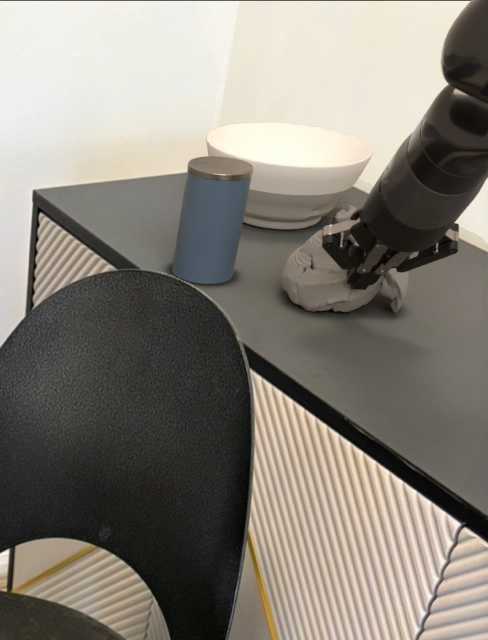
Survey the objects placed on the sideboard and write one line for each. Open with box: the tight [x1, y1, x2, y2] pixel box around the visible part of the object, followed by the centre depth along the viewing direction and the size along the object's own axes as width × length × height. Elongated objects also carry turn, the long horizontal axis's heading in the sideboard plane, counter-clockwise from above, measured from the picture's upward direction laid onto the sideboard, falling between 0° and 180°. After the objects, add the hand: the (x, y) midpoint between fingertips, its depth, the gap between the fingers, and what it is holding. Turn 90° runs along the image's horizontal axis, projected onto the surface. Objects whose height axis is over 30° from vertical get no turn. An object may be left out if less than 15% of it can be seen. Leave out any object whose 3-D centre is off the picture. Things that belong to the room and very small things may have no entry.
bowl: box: [205, 121, 374, 231], centre depth 135 cm, size 19×19×8 cm
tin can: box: [171, 155, 254, 285], centre depth 118 cm, size 7×7×11 cm
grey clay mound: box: [280, 204, 410, 314], centre depth 114 cm, size 12×12×11 cm
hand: (357, 280), depth 111 cm, fingers closed
